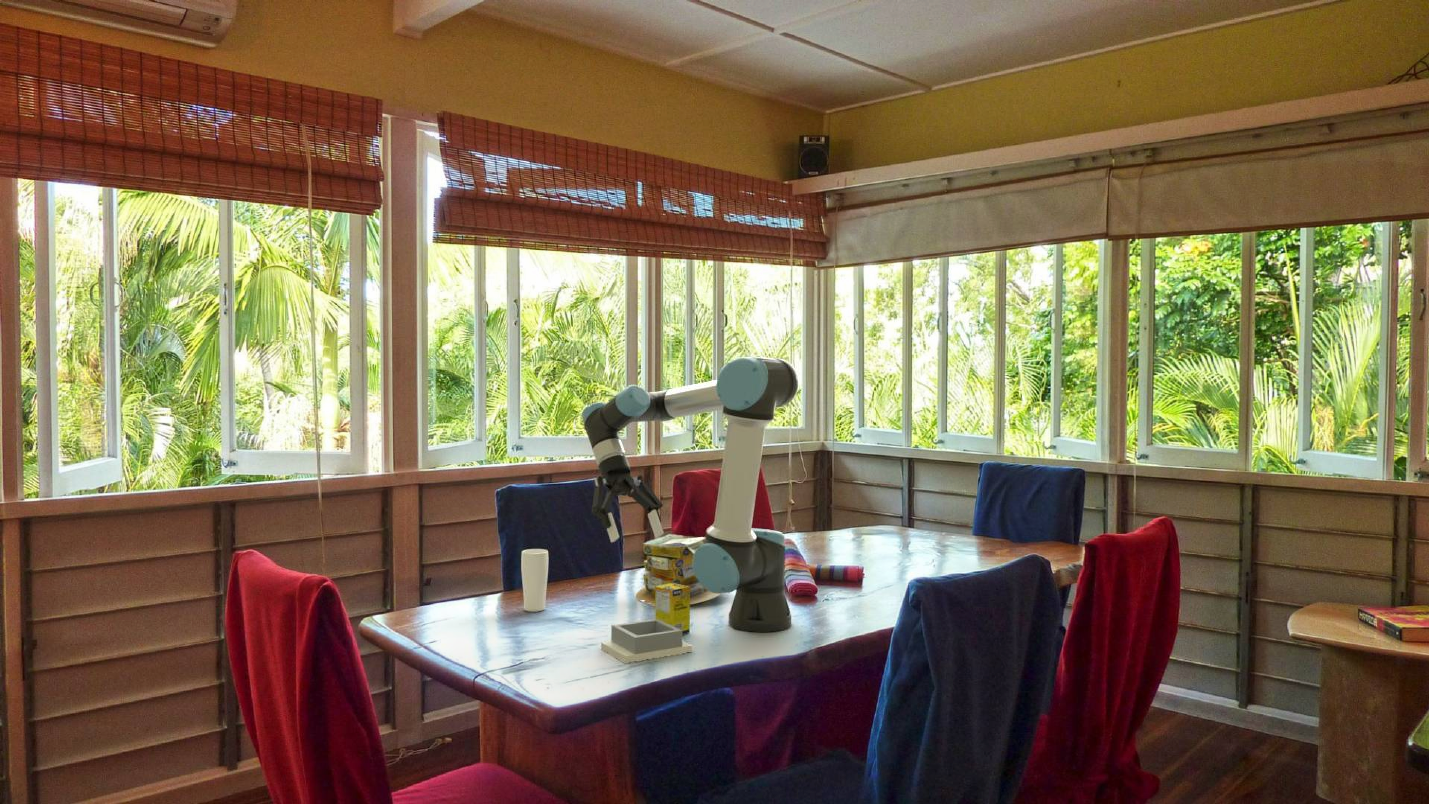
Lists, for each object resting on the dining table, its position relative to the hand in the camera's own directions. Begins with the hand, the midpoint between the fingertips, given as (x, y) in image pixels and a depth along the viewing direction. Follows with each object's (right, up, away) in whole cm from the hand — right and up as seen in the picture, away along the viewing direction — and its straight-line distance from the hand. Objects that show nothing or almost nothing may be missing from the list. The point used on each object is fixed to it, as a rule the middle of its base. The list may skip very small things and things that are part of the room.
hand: (638, 538), depth 230 cm
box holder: (+4, -21, -23) cm, 31 cm away
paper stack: (+10, -20, +28) cm, 36 cm away
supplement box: (+9, -21, -8) cm, 24 cm away
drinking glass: (-27, -20, +12) cm, 36 cm away
